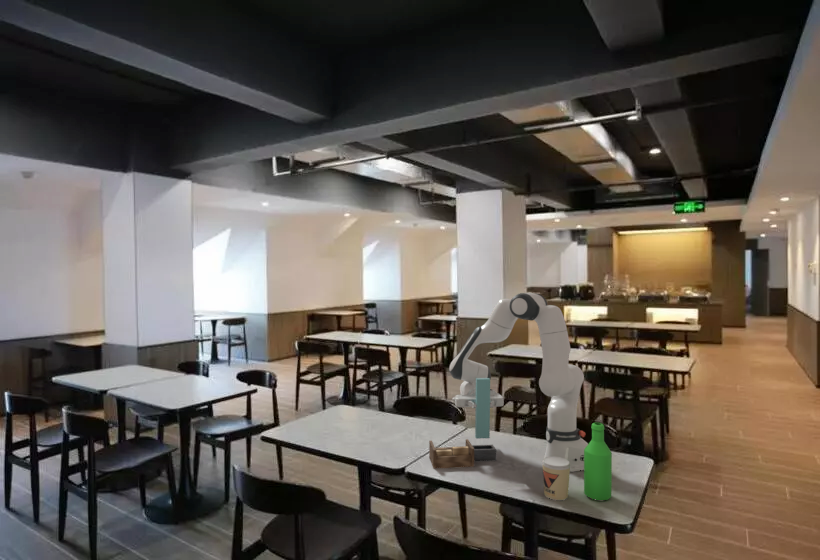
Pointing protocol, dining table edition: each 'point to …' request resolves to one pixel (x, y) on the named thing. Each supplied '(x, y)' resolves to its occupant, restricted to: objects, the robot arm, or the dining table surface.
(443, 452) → the oak offcut
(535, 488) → the dining table surface
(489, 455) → the charcoal holder
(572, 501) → the dining table surface
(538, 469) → the dining table surface
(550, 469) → the coffee cup
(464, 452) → the oak offcut
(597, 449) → the bottle
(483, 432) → the teal panel
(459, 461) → the walnut rack
